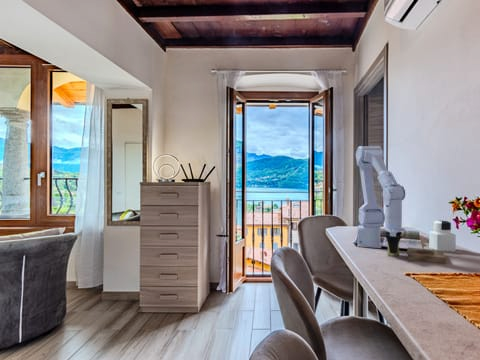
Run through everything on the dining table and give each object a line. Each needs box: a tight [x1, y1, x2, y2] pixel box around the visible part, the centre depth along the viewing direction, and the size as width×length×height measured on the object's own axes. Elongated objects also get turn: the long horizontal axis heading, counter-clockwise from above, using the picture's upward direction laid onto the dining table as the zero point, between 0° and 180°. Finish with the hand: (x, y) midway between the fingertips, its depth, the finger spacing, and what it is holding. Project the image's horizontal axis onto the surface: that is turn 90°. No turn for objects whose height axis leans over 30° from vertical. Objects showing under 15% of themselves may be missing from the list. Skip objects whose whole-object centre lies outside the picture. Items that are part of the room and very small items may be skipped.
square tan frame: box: [406, 247, 447, 264], centre depth 124 cm, size 12×12×2 cm
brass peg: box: [387, 242, 400, 258], centre depth 127 cm, size 4×4×7 cm
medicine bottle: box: [428, 220, 457, 253], centre depth 136 cm, size 7×7×12 cm
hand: (393, 251), depth 127 cm, fingers open, 5 cm apart
